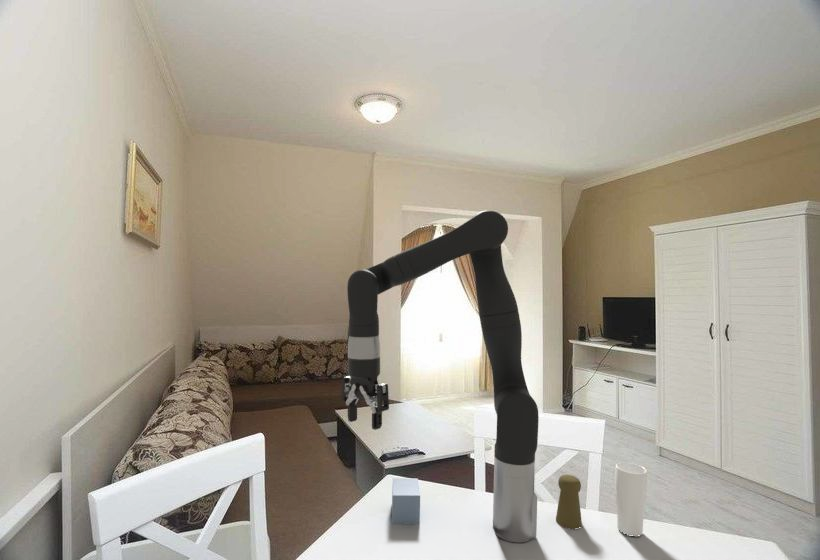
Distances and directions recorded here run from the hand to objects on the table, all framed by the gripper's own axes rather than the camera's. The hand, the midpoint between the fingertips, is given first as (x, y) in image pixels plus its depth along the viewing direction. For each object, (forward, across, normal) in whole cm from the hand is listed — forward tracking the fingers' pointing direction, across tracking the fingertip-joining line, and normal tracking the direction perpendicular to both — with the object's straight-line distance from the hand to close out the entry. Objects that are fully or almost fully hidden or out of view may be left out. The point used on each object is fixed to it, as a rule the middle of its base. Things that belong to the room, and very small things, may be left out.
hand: (364, 424), depth 100 cm
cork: (+26, -32, -38) cm, 56 cm away
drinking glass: (+26, -44, -44) cm, 68 cm away
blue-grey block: (+24, -4, -9) cm, 26 cm away
